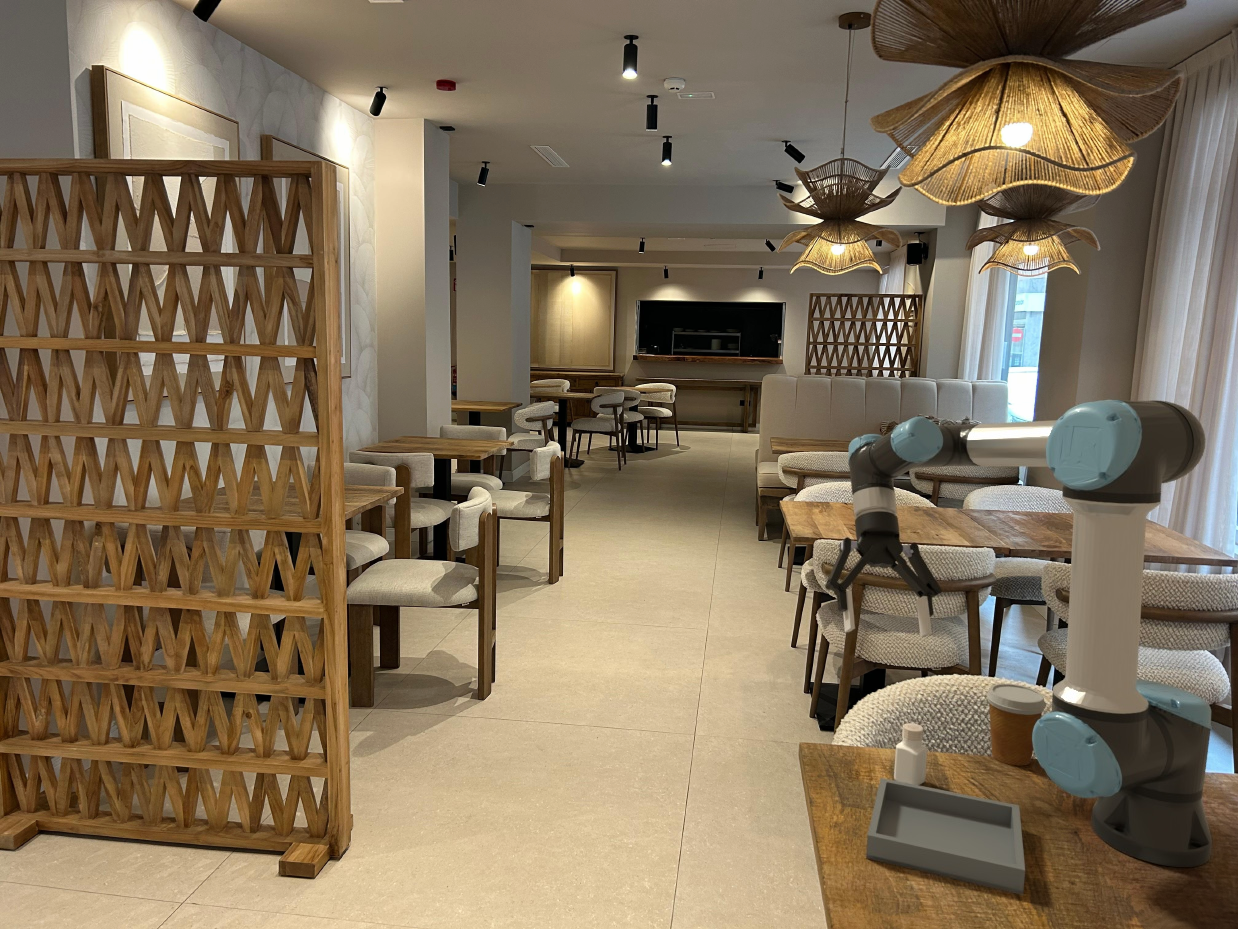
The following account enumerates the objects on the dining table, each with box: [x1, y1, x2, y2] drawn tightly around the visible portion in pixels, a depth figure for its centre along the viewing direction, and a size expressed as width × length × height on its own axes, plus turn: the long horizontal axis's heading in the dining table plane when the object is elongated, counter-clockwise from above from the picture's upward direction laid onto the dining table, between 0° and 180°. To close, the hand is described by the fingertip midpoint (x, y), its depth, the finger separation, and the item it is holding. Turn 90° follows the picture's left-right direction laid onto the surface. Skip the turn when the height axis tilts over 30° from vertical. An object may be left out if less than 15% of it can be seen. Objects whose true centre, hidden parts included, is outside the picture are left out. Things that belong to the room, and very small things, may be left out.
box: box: [865, 777, 1026, 896], centre depth 125 cm, size 20×18×4 cm
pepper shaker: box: [893, 722, 928, 786], centre depth 142 cm, size 4×4×10 cm
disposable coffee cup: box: [986, 683, 1047, 767], centre depth 152 cm, size 10×10×12 cm
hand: (888, 633), depth 147 cm, fingers open, 13 cm apart
